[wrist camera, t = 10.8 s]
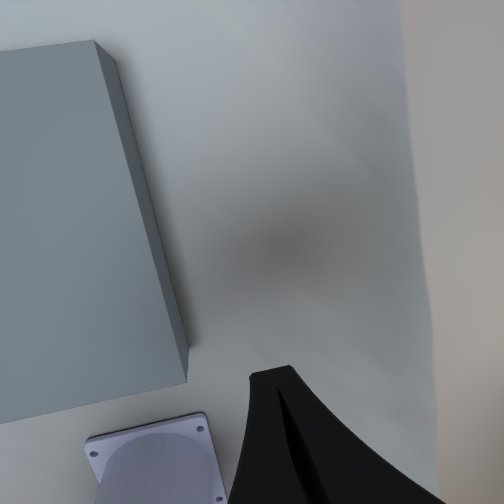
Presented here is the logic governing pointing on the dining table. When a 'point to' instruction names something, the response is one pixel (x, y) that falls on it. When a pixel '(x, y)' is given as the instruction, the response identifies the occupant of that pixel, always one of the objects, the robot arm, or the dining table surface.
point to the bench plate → (77, 241)
